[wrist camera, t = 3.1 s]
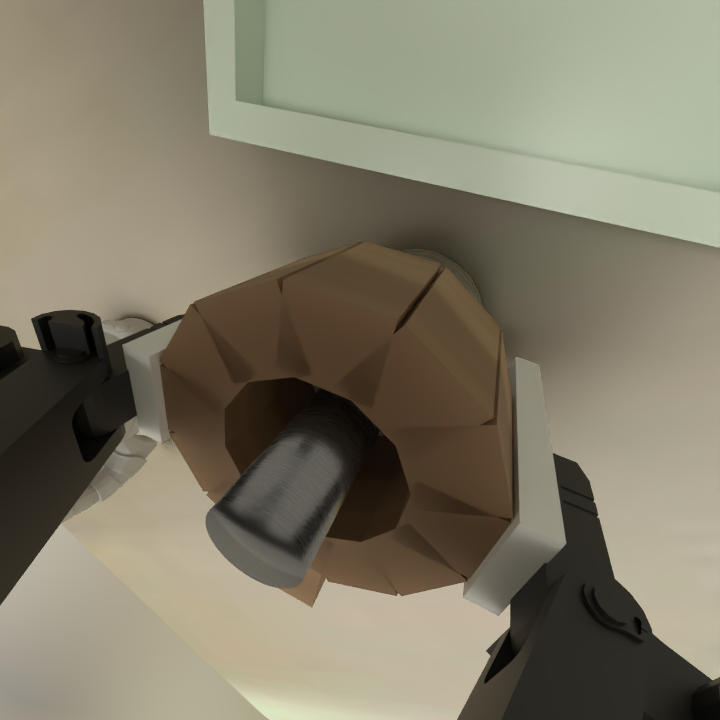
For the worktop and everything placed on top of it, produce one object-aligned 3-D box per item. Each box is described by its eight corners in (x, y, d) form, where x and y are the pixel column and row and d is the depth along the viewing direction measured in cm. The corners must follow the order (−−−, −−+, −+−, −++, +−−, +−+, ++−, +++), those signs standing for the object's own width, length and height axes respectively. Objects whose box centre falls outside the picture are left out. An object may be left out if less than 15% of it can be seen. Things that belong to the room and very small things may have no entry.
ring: (268, 211, 10) (140, 229, 6) (568, 302, 8) (609, 393, 5) (255, 453, 15) (181, 533, 11) (434, 539, 13) (408, 662, 10)
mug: (190, 330, 22) (-78, 459, 12) (206, 461, 28) (37, 618, 18) (100, 299, 24) (-197, 387, 14) (133, 428, 30) (-56, 554, 20)
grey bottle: (365, 233, 15) (81, 342, 5) (505, 270, 14) (493, 521, 4) (344, 350, 18) (144, 561, 8) (457, 390, 17) (379, 702, 7)
